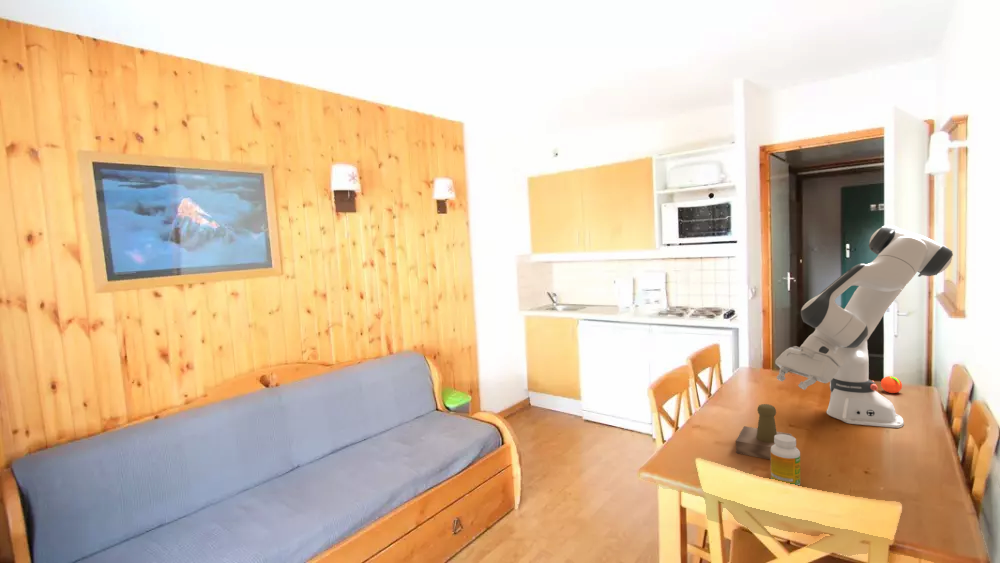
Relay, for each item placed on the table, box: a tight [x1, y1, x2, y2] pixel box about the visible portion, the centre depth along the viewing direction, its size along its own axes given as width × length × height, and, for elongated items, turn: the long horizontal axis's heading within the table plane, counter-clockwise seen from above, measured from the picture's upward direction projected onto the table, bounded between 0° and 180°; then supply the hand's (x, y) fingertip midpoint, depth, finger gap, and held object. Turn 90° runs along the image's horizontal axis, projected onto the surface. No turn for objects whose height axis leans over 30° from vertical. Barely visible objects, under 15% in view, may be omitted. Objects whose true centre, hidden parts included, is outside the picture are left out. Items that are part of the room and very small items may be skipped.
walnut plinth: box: [735, 426, 793, 461], centre depth 155 cm, size 14×14×4 cm
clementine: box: [880, 375, 903, 394], centre depth 200 cm, size 8×7×7 cm
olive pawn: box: [756, 403, 778, 443], centre depth 154 cm, size 6×6×11 cm
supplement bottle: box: [770, 434, 801, 486], centre depth 134 cm, size 7×7×13 cm
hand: (789, 383), depth 157 cm, fingers open, 8 cm apart
